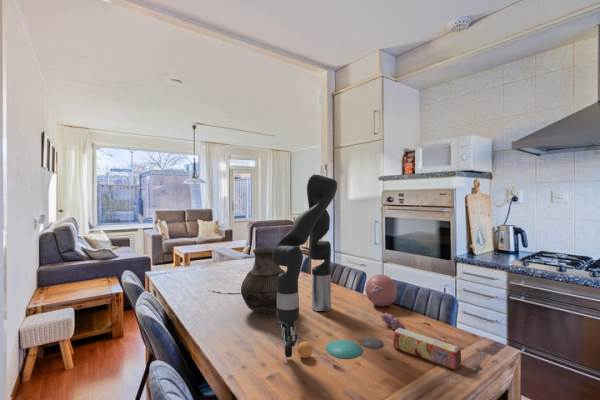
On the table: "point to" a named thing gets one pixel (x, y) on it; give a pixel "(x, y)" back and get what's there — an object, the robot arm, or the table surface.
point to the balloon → (381, 290)
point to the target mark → (344, 349)
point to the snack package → (427, 348)
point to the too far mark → (372, 343)
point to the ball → (304, 349)
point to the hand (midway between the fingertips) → (288, 355)
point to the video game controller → (392, 321)
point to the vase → (262, 283)
